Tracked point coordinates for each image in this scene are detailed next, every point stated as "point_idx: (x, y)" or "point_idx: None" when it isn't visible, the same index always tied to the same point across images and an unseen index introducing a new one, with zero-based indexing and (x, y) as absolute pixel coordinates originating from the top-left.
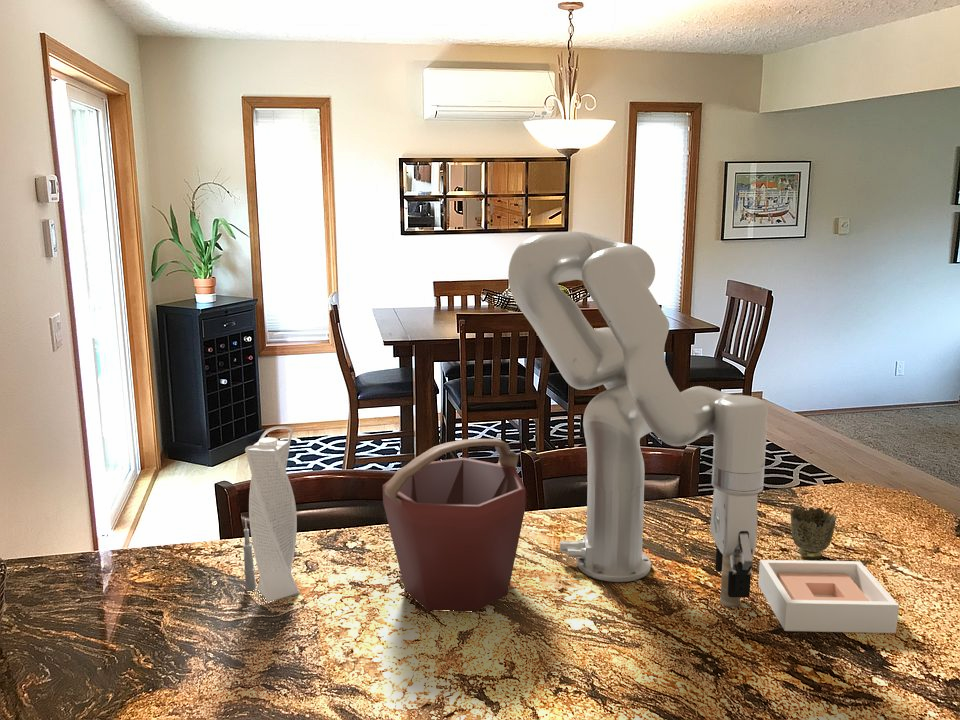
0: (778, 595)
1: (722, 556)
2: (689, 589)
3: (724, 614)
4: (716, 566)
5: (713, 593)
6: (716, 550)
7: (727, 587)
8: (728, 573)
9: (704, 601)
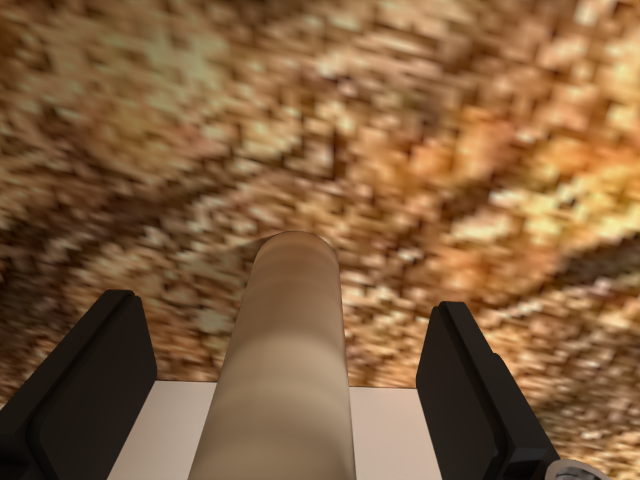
0: (165, 469)
1: (464, 414)
2: (445, 111)
3: (190, 220)
4: (452, 321)
5: (387, 223)
6: (515, 425)
7: (244, 306)
8: (222, 380)
9: (310, 160)
